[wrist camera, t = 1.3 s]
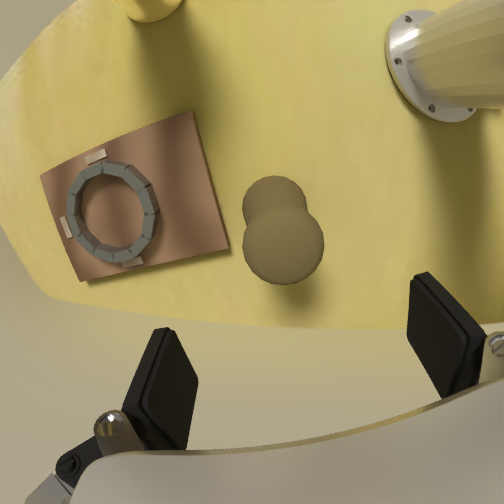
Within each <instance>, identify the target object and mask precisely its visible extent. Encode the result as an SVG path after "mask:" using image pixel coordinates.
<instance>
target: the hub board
mask: <svg viewBox="0 0 504 504" xmlns="http://www.w3.org/2000/svg"><path fill="white" fill-rule="evenodd" d="M106 160H114V161H118V162H123V163H127V164H132V166H133V165H134V166H135V167H136V168H137V169H138V170H139V171H140V172H141V173H142V174H143V175H144V176H145V177H146V178H147V179H148V180H149V181H150V182H151V183H150V185H151V184H152V186H153V189H154V192H155V195H156V198H157V202H158V205H159V208H160V209H159V210H160V212H159V218H158V223H157V229H156V234H155V236H154V237H153V238H152V239H151V240H150V242H149V243H148V244H147V245H146V246H145V247H144V248H143V249H142V251H141V252H140V253H139V254H138V255H137V256H136V257H135V258H133V259H129V260H125V261H121V262H117V263H114V262H113V263H111V262H108V261H105V260H102V259H99V258H96V257H93V255H92V256H91V255H90V254H89V253H88V252H87V251H86V250H85V249H84V248H83V247H82V246H81V245H80V244H79V243H78V242H77V241H76V238H74V235H73V233H72V230H71V228H70V225H69V222H68V219H67V217H66V216H68V215H66V209H67V196H68V192H69V191H68V190H69V188H70V187H71V185H72V184H73V182H74V180H75V179H76V177H77V176H78V174H79V173H80V172H81V171H82V170H84V169H86V168H88V167H91V166H93V165H95V164H97V163H100V162H103V161H106ZM40 179H41V182H42V185H43V189H44V192H45V195H46V198H47V201H48V204H49V207H50V210H51V213H52V216H53V219H54V221H55V224H56V227H57V229H58V232H59V235H60V237H61V240H62V242H63V245H64V247H65V250H66V252H67V254H68V257H69V259H70V261H71V264H72V266H73V268H74V270H75V272H76V275H77V277H78V279H79V281H80V282H83V281H87V280H91V279H95V278H100V277H104V276H108V275H113V274H117V273H121V272H126V271H130V270H134V269H139V268H143V267H148V266H152V265H156V264H161V263H165V262H170V261H174V260H179V259H183V258H188V257H192V256H196V255H201V254H205V253H210V252H214V251H219V250H223V249H228V248H229V244H230V243H229V240H228V236H227V233H226V229H225V226H224V222H223V219H222V215H221V212H220V208H219V204H218V201H217V197H216V194H215V190H214V187H213V183H212V179H211V176H210V172H209V168H208V165H207V161H206V157H205V154H204V150H203V146H202V143H201V139H200V135H199V131H198V128H197V124H196V120H195V116H194V113H193V112H192V111H189V112H186V113H183V114H180V115H177V116H173V117H171V118H168V119H165V120H162V121H159V122H156V123H153V124H151V125H148V126H145V127H143V128H140V129H137V130H135V131H132V132H130V133H127V134H125V135H122V136H120V137H117V138H115V139H113V140H110V141H108V142H106V143H103V144H101V145H99V146H97V147H95V148H92V149H90V150H88V151H86V152H84V153H82V154H80V155H78V156H76V157H74V158H72V159H70V160H68V161H66V162H64V163H62V164H60V165H58V166H56V167H54V168H52V169H50V170H49V171H47V172H45V173H43V174H41V175H40ZM81 211H82V214H83V217H84V220H85V223H86V225H87V228H88V230H89V231H90V232H91V233H92V234H93V235H94V236H95V237H96V238H97V239H98V240H99V241H100V242H101V243H105V244H108V245H111V246H114V247H118V248H119V247H122V246H126V245H130V244H133V243H135V241H136V240H137V239H138V238H139V237H140V235H141V231H142V225H143V219H144V212H143V209H142V206H141V203H140V200H139V197H138V194H137V192H136V191H135V190H134V189H133V188H132V187H131V186H130V185H129V184H128V183H127V182H126V181H125V180H124V179H123V178H122V177H118V176H114V175H110V174H105V173H102V174H99V175H97V176H95V177H93V178H92V180H91V181H90V183H89V184H88V186H87V187H86V189H85V190H84V192H83V199H82V210H81Z"/></svg>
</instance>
